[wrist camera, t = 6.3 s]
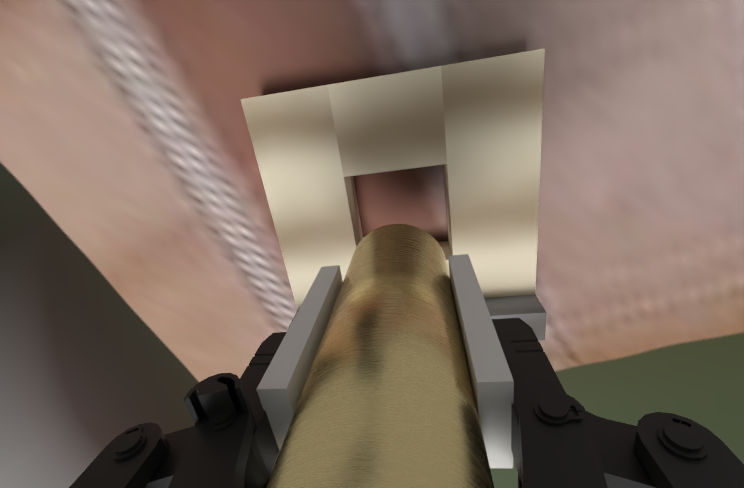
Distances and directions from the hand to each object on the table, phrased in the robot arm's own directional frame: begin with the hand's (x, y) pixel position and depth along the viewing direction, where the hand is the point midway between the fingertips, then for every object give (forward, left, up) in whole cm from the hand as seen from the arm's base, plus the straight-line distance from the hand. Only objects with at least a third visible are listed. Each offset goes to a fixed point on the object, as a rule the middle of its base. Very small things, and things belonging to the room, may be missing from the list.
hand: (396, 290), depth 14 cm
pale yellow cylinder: (0, 0, -2) cm, 2 cm away
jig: (0, 0, -11) cm, 11 cm away
